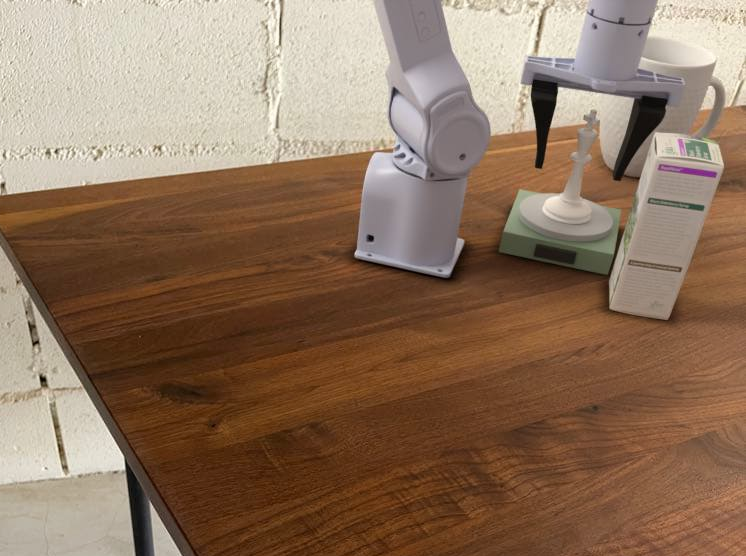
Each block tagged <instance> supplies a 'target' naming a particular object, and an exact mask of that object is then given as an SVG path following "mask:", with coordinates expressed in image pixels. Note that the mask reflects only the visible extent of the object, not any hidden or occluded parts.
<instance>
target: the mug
mask: <svg viewBox="0 0 746 556" xmlns="http://www.w3.org/2000/svg"><path fill="white" fill-rule="evenodd" d="M717 62H718V58H717V55H716V54H715V53H714V52H713V51H711V50H709V49H708V48H706V47H703V45H702V46H701V45H699V44H697V43H693V42H690V41H686V40H682V39H678V38H674V37H667V36H660V35H648V36H647V40H646V43H645V46H644V50H643V53H642V57H641V60H640V63H639V67H638V68H640V69H644V70H648V71H652V72H656V73H660V74H664V75H668V76H673V77H679V78H683V79H684V82H685V85H686V86H685V89H684V92H683V95H682V98H681V101H680V104H679V107H673V106H668V105H667V104H666V107H665V108H666V114H665V116H664V118H663V120H662V122H661V123H660V124H659V125H658V126H657V127H656V128H655V129H654V131H653V132H652V133H651V134H650V135H649V136H648V137H647V139H646V140H645V141H644V142H643V144H642V145H641V146H640V148H639V149H638V151H637V152H636V154H635V155H634V157H633V158H632V160H631V161H630V163H629V165H628V167H627V168H626V170H625V172H624V174H623V176H626V177H630V178H639V179H640V178H641V174H642V171H643V168H644V165H645V162H646V159H647V155H648V152H649V149H650V146H651V143H652V140H653V136H654V134H655V132H658V133H674V134H685V135H690V133H691V131H692V129H693V127H694V124H695V122H696V121H697V117H698V115H699V114H700V110H701V109H702V105H703V104H704V101H705V98H706V96H707V91H708V90H709V87H712V89H714V102H713V105H712V108H711V111H710V114H709V115H708V117H707V119H706V121H705V122H704V124H702V126H701V127H700V128H699V129H698V130H697V131H696V132H694V133H693V134H692V136H698V137H702V138H707V137H709V136H710V135H711V133H712V132H713V131H714V129H715V128H716V126H717V125H718V123H719V121H720V120H721V117H722V115H723V112H724V110H725V107H726V88H725V86H724V84H723V82H722V81H721V80H720V79H719V78H718V77H716V75H715V76H714V75H713V74H714V71H715V67H716V65H717ZM633 102H634V98H629V97H622V96H616V95H609V94H604V95H603V99H602V103H601V104H602V106H601V110H600V115H599V116H600V119H599V120H600V123H599V127H598V128H599V132H598V137H599V147H600V150H601V155H602V159H603V161H604V164H605V166H606V167H607V168H608V169H610V171H613V170H614V166H615V162H616V159H617V156H618V154H619V151H620V148H621V145H622V143H623V140H624V137H625V134H626V130H627V126H628V122H629V119H630V115H631V111H632V107H633Z"/></svg>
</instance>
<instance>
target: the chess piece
mask: <svg viewBox="0 0 746 556" xmlns="http://www.w3.org/2000/svg"><path fill="white" fill-rule="evenodd" d="M597 113H598V110H596V109H590V111H589V113H586V114H585V113H584V115H583V118H582V120H583V121H585V122H586V126H585V127H581V128H580V127H579V128H578V129H577V131H576V132H577V133H576V138H577V144H576V145H577V151H574V152H572V153H571V154H570V155H569V157H570V158H569V159H571V160H572V161H573V162H574V163H573V167H572V169H571V173H570V175H569V177H568V180H567V183H566V185H565V187H564V190H563V192H560V193H559V194H560V195H559V196H555V197H551V198H549V199H547V200H546V201H545V204H544V206H543V209H542V210H543V212H544V214H545V215H546V216H548V217H549V218H551V219H553V220H555V221H558V222H562V223H567V224H582V223H585V222H587V221H589V220H590V218H591V212H592V210H591V207H590V206H589V205H588V204H587V203H585V202H584V201H582V197H581V190H582V183H583V176H584V171H585V170H584V169H585V166H586V165H585V164H589V163H592V162H593V156H592V155H591V154H590V153H589V152H590V151H591V149H592V147H593V145H594V144H595V142H596V141H597V139H598V137H599V132H598V131H597V130H596V129H593V128H594V126H596V127H597V126H600V119H598V118H596V116H597Z"/></svg>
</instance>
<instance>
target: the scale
mask: <svg viewBox="0 0 746 556" xmlns="http://www.w3.org/2000/svg"><path fill="white" fill-rule="evenodd" d="M560 194H561V193H557V192H556V193H555V192H551V193H550V192H549V193H548V192H547V193H540V192H537V191H536V192H535V191H531V190H527V189H520V188H519V190H518V192H517V194H516V198H515V200H514V202H513V205H512V208H511V210H510V213H509V215H508V218H507V220H506V223H505V226H504V228H503V231H502V233H501V239H500V243H499V248H498V253H502V254H507V255H511V256H516V257H519V258H520V257H521V258H525V259H529V260H534V261H539V262H543V263H548V264H554V265H558V266H562V267H568V268H572V269H577V270H582V271H586V272H591V273H595V274H599V275H600V274H601V275H605V276H608V275H609V272H610V268H611V266H612V263H613V259H614V256H615V252H616V246H617V239H618V234H619V228H620V224H621V223H620V222H621V217H622V211H623V210H622V208H621V209H620V208H615V207H610V206H606V205H600V204H597V203H596V202H593V201H591V200H588V199H586V198H582V197H581V198H582V201H584V202H585V203H587V204H588V205H589V206H590V207H591V210H592V212H591V218H590V220H589V221H587V222H585V223H582V224H567V223H562V222H558V221H555V220H553V219H551V218H549V217H548V216H546V215H545V214H544V212H543V210H542V209H543V206H544V204H545V201H546V200H547V199H549V198H551V197H555V196H559V195H560Z"/></svg>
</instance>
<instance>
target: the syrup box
mask: <svg viewBox="0 0 746 556" xmlns="http://www.w3.org/2000/svg"><path fill="white" fill-rule="evenodd" d="M692 135H693V134H692ZM692 135H691V134H689V135H685V134H674V133H658V132H655V134H654V136H653V140H652V143H651V146H650V149H649V152H648V155H647V159H646V162H645V165H644V168H643V171H642V174H641V178H639V181H638V185H637V188H636V191H635V194H634V197H633V201H632V205H631V208H630V210H629V214H628V218H627V221H626V223H625V227H624V230H623V234H622V237H621V240H620V243H619V247H618V250H617V252H616V256H615V260H614V263H613V266H612V269H611V273H610V276H609V280H608V307H609V310H611V311H614V312H617V313H618V312H619V313H623V314H628V315H633V316H639V317H645V318H650V319H651V318H652V319H657V320H658V319H659V320H663V321H664V320H665V321H668V320H669V318H670V316H671V314H672V311H673V308H674V305H675V303H676V300H677V298H678V296H679V293H680V290H681V288H682V285H683V283H684V279H685V277H686V274H687V272H688V269H689V266H690V263H691V261H692V257H693V255H694V252H695V249H696V247H697V244H698V241H699V238H700V236H701V234H702V233H701V232H702V230H703V227H704V224H705V222H706V219H707V217H708V213H709V210H710V208H711V205H712V202H713V200H714V196H715V193H716V191H717V188H718V186H719V182H720V180H721V177H722V175H723V172H724V170H725V164H724V160H723V156H722V153H721V147H720V145H719V142H718V141H717V140H714V139H710V138H707V137H706V138H702V137H698V136H692Z"/></svg>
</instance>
